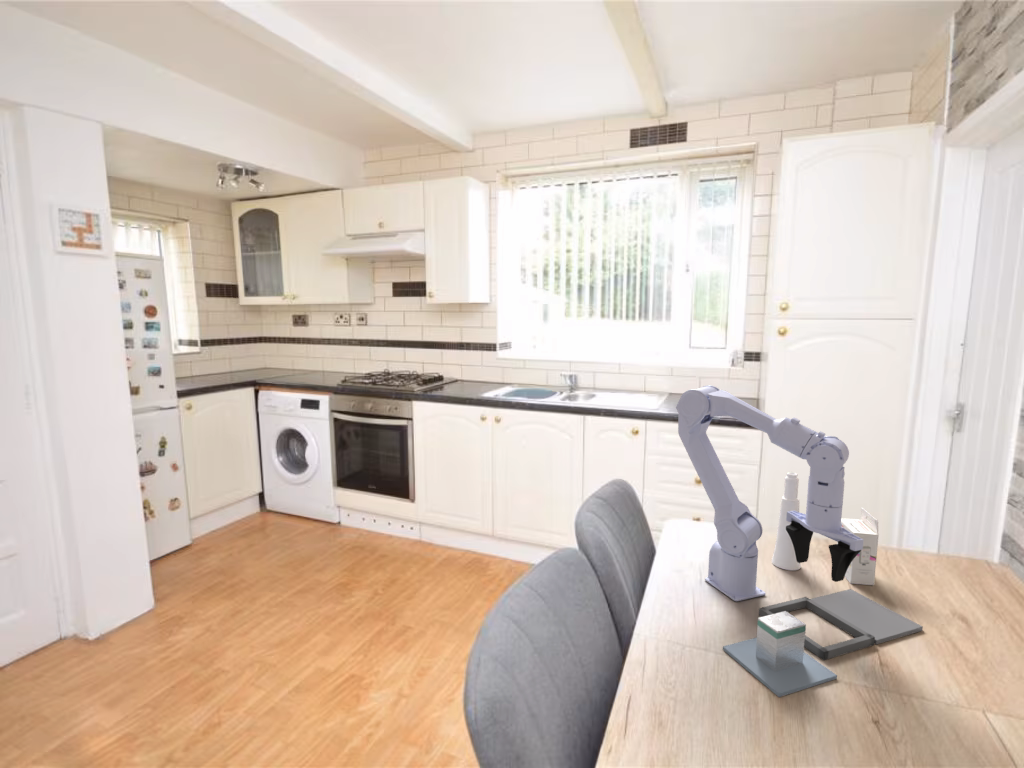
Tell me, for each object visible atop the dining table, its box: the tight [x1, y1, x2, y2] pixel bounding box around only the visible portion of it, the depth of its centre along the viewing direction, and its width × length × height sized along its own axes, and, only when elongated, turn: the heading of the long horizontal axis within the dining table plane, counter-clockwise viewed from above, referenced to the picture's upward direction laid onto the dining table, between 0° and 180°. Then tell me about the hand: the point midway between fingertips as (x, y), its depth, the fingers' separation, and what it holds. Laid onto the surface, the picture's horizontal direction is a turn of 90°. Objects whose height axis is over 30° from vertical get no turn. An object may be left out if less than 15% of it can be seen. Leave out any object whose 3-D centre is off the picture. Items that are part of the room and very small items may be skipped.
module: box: [756, 611, 807, 672], centre depth 85 cm, size 4×6×7 cm, turn 109°
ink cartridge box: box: [836, 507, 879, 586], centre depth 114 cm, size 9×5×15 cm, turn 168°
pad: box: [722, 636, 838, 698], centre depth 86 cm, size 12×12×1 cm
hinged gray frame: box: [758, 588, 924, 661], centre depth 97 cm, size 14×24×2 cm, turn 109°
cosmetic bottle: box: [771, 471, 802, 571], centre depth 119 cm, size 6×6×22 cm
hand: (819, 570), depth 98 cm, fingers open, 7 cm apart
